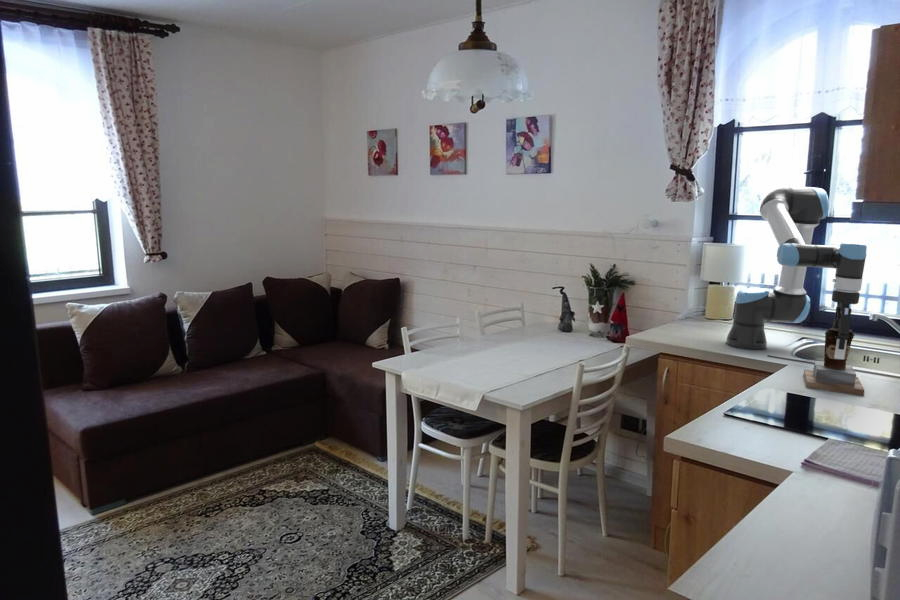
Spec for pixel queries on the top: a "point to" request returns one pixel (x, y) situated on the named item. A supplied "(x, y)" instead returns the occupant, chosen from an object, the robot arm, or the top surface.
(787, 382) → the top surface
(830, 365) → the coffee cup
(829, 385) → the stepped plinth
